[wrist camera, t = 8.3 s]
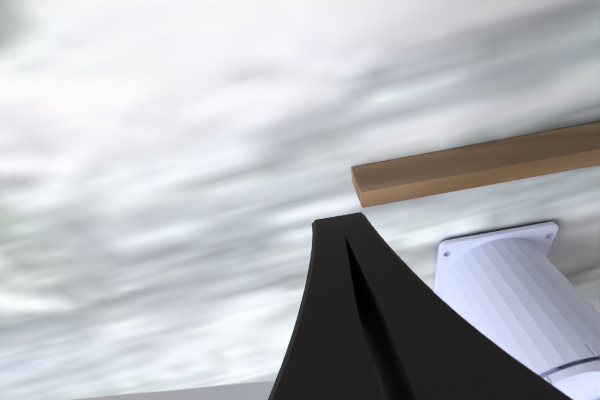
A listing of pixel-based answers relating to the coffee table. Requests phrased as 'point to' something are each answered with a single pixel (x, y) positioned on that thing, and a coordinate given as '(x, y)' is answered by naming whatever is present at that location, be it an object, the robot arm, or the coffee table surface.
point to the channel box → (478, 165)
